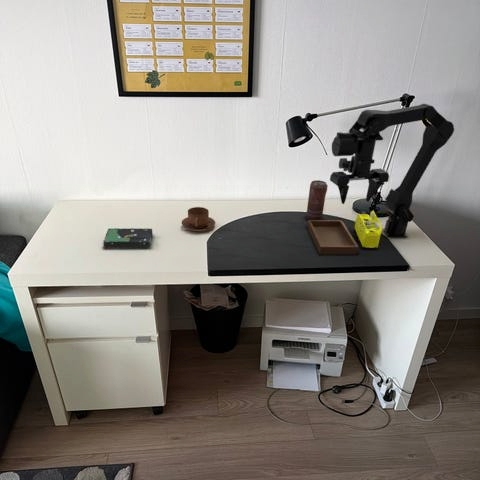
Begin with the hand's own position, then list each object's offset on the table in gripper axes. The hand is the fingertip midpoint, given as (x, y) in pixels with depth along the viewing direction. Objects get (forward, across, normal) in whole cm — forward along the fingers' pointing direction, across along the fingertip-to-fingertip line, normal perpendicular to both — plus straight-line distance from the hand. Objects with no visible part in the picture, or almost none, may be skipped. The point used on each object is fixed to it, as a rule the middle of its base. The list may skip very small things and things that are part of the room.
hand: (355, 202), depth 147 cm
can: (+13, +5, -18) cm, 23 cm away
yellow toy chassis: (+13, -5, +3) cm, 14 cm away
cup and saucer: (+12, +50, -20) cm, 55 cm away
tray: (+13, +7, +1) cm, 15 cm away
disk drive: (+12, +75, -13) cm, 77 cm away
